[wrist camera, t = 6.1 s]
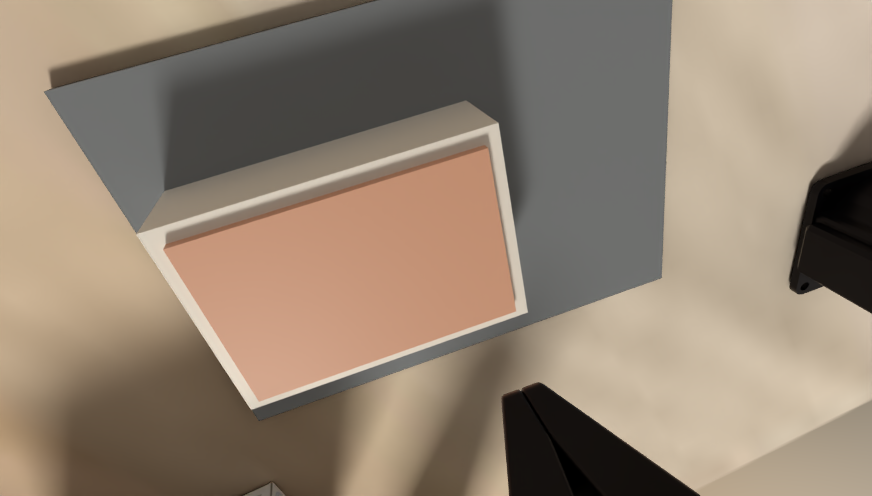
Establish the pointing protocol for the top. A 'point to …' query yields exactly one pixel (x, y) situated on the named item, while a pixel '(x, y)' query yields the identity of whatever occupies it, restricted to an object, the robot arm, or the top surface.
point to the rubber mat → (412, 95)
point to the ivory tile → (344, 251)
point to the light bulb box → (267, 491)
